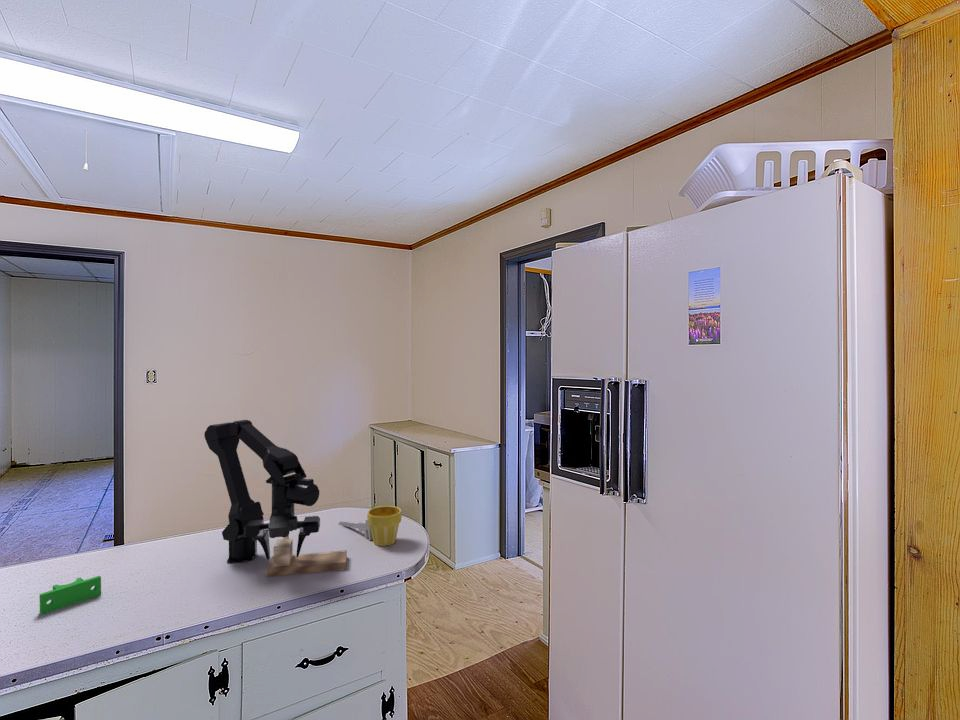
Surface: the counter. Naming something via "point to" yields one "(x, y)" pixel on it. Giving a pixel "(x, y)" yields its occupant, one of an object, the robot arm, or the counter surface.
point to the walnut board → (310, 563)
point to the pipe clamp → (69, 594)
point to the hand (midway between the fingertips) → (283, 557)
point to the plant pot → (384, 524)
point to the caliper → (359, 527)
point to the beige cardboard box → (283, 552)
